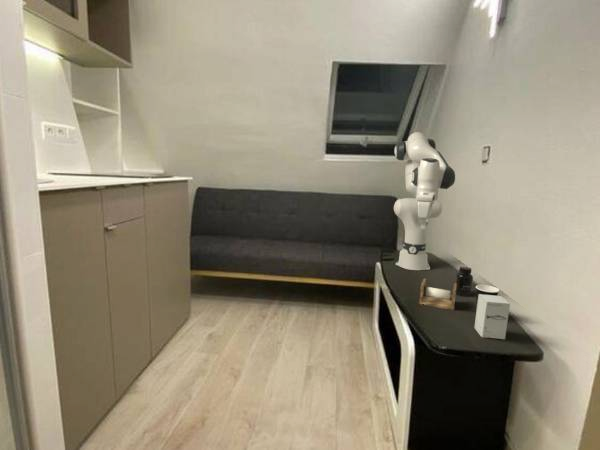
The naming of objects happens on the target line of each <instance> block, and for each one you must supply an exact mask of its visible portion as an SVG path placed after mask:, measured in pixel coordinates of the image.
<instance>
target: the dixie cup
mask: <svg viewBox="0 0 600 450" xmlns="http://www.w3.org/2000/svg"><path fill="white" fill-rule="evenodd" d="M475 289H476V290H475V291H476V293H475V295H476V297H475V299H476V300H475V302H476V305H475V306H476V308H475V309H476V310H475V311H477V303H478V295H479V294H483V295H494V296H499V292H500V289H499V288H498V287H495V286H492V285H487V284H477V285H476V286H475Z"/></svg>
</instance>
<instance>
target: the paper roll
mask: <svg viewBox="0 0 600 450" xmlns="http://www.w3.org/2000/svg"><path fill="white" fill-rule="evenodd" d="M425 291H426V296H427V297H432V298H438V299H444V300H449V301H450V295H451V293H452V290H447V289H442V288H437V287H432V286H431V287H430V286H426V290H425Z"/></svg>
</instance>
